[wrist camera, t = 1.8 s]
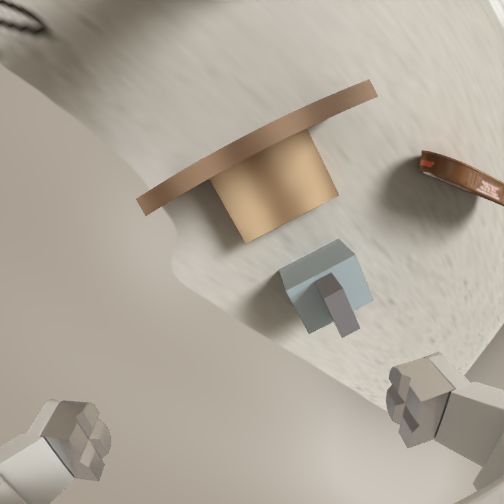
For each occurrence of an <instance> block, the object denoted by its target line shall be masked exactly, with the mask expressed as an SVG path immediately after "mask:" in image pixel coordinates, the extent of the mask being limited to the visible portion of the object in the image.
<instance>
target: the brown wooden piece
mask: <svg viewBox="0 0 504 504" xmlns="http://www.w3.org/2000/svg"><path fill="white" fill-rule="evenodd" d="M376 97H378V95H377V93H376V91H375V89H374V87H373V85H372V84H371V82H370V80H366V81H364V82H361V83H359V84H356V85H354V86H351V87H349V88H347V89H344V90H342V91H339V92H337V93H335V94H332V95H330V96H328V97H325V98H323V99H321V100H318V101H316V102H314V103H312V104H310V105H307V106H305V107H303V108H301V109H299V110H296V111H294V112H292V113H290V114H288V115H286V116H284V117H282V118H280V119H277V120H275V121H273V122H271V123H269V124H267V125H265V126H263V127H261V128H259V129H257V130H255V131H253V132H251V133H250V134H248V135H246V136H244V137H242V138H240V139H238V140H236V141H234V142H232V143H230V144H229V145H227V146H225V147H223V148H221V149H219V150H218V151H216V152H214V153H212V154H210V155H209V156H207V157H205V158H203V159H201V160H200V161H198V162H196V163H194V164H193V165H191V166H189V167H188V168H186V169H184V170H182V171H181V172H179V173H177V174H176V175H174V176H172V177H171V178H169V179H167V180H166V181H164V182H162V183H161V184H159V185H158V186H156V187H154V188H153V189H151V190H150V191H148V192H146V193H145V194H143V195H142V196H140V197H139V198H137V199H136V200H137V202H138V203H139V205H140V207H141V209H142V210H143V212H144V213H145V215H146V216H147V215H148V214H150V213H151V212H153V211H155V210H156V209H158V208H160V207H161V206H163V205H165V204H166V203H168V202H170V201H171V200H173V199H175V198H176V197H178V196H180V195H182V194H183V193H185V192H187V191H188V190H190V189H192V188H194V187H195V186H197V185H199V184H201V183H202V182H204V181H206V180H208V179H210V181H211V183H212V185H213V186H214V188H215V190H216V192H217V193H218V195H219V197H220V199H221V201H222V202H223V204H224V206H225V208H226V209H227V211H228V213H229V215H230V217H231V218H232V220H233V222H234V224H235V225H236V227H237V229H238V231H239V232H240V234H241V236H242V238H243V240H244V241H245V243H248V242H250V241H252V240H254V239H256V238H258V237H260V236H262V235H264V234H265V233H267V232H269V231H271V230H273V229H275V228H277V227H279V226H281V225H283V224H285V223H287V222H288V221H290V220H292V219H294V218H296V217H298V216H300V215H302V214H304V213H306V212H308V211H310V210H312V209H313V208H315V207H317V206H319V205H321V204H323V203H325V202H327V201H329V200H331V199H333V198H335V197H337V196H339V194H338V192H337V190H336V188H335V185H334V183H333V181H332V179H331V177H330V175H329V173H328V171H327V168H326V166H325V164H324V162H323V160H322V158H321V156H320V154H319V152H318V150H317V148H316V146H315V144H314V142H313V140H312V138H311V136H310V134H309V132H308V130H307V129H306V128H308V127H310V126H312V125H315V124H317V123H319V122H321V121H323V120H325V119H327V118H330V117H332V116H334V115H336V114H339V113H341V112H343V111H345V110H348V109H350V108H352V107H354V106H357V105H359V104H361V103H364V102H366V101H368V100H371V99H373V98H376Z"/></svg>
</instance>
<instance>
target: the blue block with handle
mask: <svg viewBox="0 0 504 504" xmlns="http://www.w3.org/2000/svg"><path fill="white" fill-rule="evenodd" d="M279 272H280V275H281V278H282V281H283V284H284V287H285V291H286V293H287V294H288V296H289V298H290V300H291V302H292V304H293V305H294V307H295V309H296V311H297V313H298V315H299V316H300V318H301V320H302V322H303V324H304V326H305V328H306V329H307V331H308V333H309V334H310V333H312V332H314V331H316V330H318V329H320V328H322V327H324V326H326V325H328V324H330V323H332V322H334V323H335V325H336V327H337V329H338V331H339V333H340V335H341V337H342V338H343V337H345V336H347V335H349V334H350V333H352V332H354V331H356V330H358V329H360V327H359V324H358V322H357V320H356V317H355V315H354V312H353V311H355V310H356V309H358V308H360V307H362V306H364V305H366V304H367V303H369V302H371V301H373V298H372V295H371V292H370V290H369V287H368V285H367V282H366V279H365V277H364V274H363V272H362V269H361V267H360V264H359V262H358V260H357V257H356V255H355V254H354V253H353V252H352V251H351V250H350V249H349V248H348V247H347V246H346V245H345V244H344V243H343V242H342V241H341V240H340V239H337V240H335V241H333V242H332V243H330V244H328V245H326V246H324V247H322V248H320V249H318V250H316V251H314V252H312V253H311V254H309V255H307V256H305V257H303V258H301V259H299V260H297V261H295V262H293V263H291V264H289V265H287V266H285V267H284V268H282V269H280V270H279Z"/></svg>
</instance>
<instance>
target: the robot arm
mask: <svg viewBox="0 0 504 504" xmlns="http://www.w3.org/2000/svg"><path fill="white" fill-rule="evenodd" d="M389 380H390V381H391V383H392V385H391V387H390V388H389V389H388V390H387V396H386V404H387V410H388V413H389V415H390V417H391V419H392V421H393V422H395V423H397V424H400V429H399V434H400V435H401V437H402V439H403V441H404V443H405V444H406V446H407V448H410V447H413V446H416V445H419V444H422V443H424V442H427V441H430V440H432V439H435V441H437V442H439V443H440V444H442V445H444V446H446V447H448V448H449V449H451V450H453V451H455V452H456V453H458V454H460V455H462V456H464V457H466V458H467V459H469V460H471V461H473V462H475V463H477V464H479V465H481V466H482V469H481V470H480V472H479V474H478V475H477V477H476V478H475V480H474V482H473V484H474V486H475V488H476V490H477V492H475V493H473V494H471V495H470V496H468V497H466V498H464V499H462V500H460V501H458V502H456V503H454V504H504V390H501V389H497V388H494V387H491V386H488V385H485V384H481V383H478V382H472V383H470V382H469V381H468V380H467V379H466V378H465V377H464V375H463V374H462V373H461V372H460V371H459V370H458V369H457V368H456V367H455V366H454V365H453V364H452V363H451V362H450V361H449V360H448V359H447V358H446V357H445V355H444V354H442V353H440V352H437V353H435V354H432V355H429V356H426V357H424V358H421V359H417V360H414V361H411V362H408V363H404V364H401V365H398V366H394V367H392V368H391V370H390V374H389ZM98 416H99V411H98V409H97V408H96V406H95V405H94V404H92V403H87V402H74V401H60V400H49V401H47V402H46V403H45V405H44V406H43V408H42V409H41V411H40V413H39V414H38V416H37V417H36V419H35V421H34V422H33V424H32V425H31V427H30V429H29V430H28V432H27V434H24V433H22V434H21V435H19V436H17V437H16V438H14V439H12V440H11V441H9V442H7V443H6V444H4V445H2V446H1V447H0V504H50V503H51V502H52V501H53V500H54V499H55V498H56V497H57V496H58V495H59V494H60V493H61V492H62V491H63V490H65V489H66V488H67V486H69V485H70V484H71V483H72V482H73V481H74V480H75V478H79V479H86V480H94V481H99V480H100V477H101V474H102V471H103V468H104V465H105V464H104V462H103V460H102V458H103V457H104V456H106V455H107V454H108V453H109V450H110V447H111V436H110V432H109V429H108V427H107V426H106V424H105V423H104V422H102V421H101V420H100V419H98Z"/></svg>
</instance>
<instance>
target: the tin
mask: <svg viewBox="0 0 504 504" xmlns="http://www.w3.org/2000/svg"><path fill="white" fill-rule="evenodd" d="M419 171H420V172H421V173H424V174H426V175H429V176H431V177H434V178H436V179H439V180H441V181H444V182H446V183H448V184H451V185H453V186H456V187H458V188H461V189H463V190H466V191H468V192H471V193H473V194H476V195H478V196H480V197H483V198H485V199H488V200H490V201H493V202H495V203H498V204H500V205H502V206H504V183H503V182H501V181H499V180H497V179H495V178H494V177H492V176H490V175H488V174H486V173H484V172H482V171H480V170H478V169H476V168H474V167H472V166H470V165H467V164H465V163H463V162H460V161H458V160H455V159H452V158H450V157H447V156H444V155H441V154H437V153H433V152H430V151H422V155H421V159H420V163H419Z"/></svg>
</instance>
